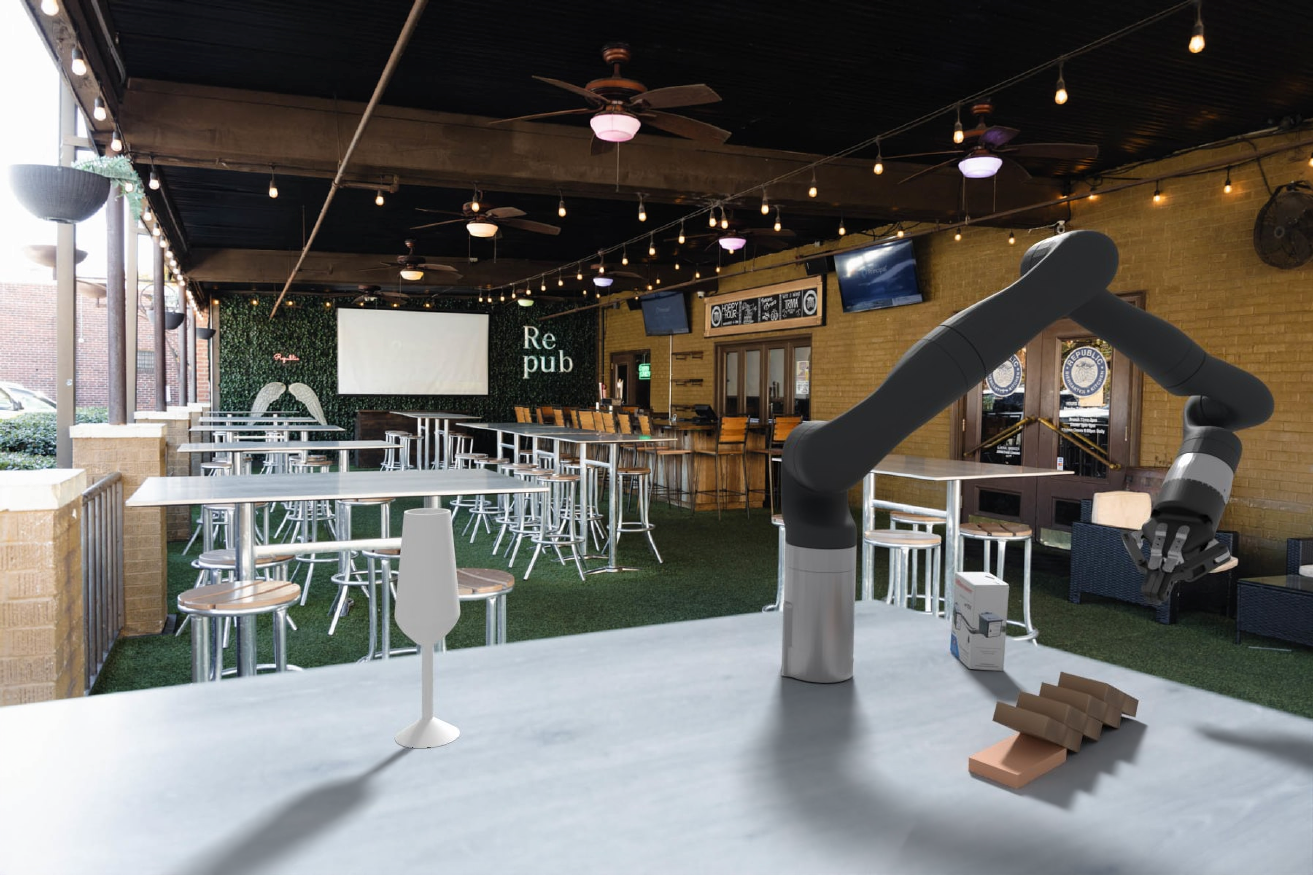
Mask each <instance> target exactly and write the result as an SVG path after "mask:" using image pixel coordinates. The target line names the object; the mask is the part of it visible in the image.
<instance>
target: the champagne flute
mask: <svg viewBox="0 0 1313 875" xmlns="http://www.w3.org/2000/svg"><path fill="white" fill-rule="evenodd" d="M453 529H454V528H453V522H452V511H451V509H447V508H441V507H440V508H438V507H429V508H428V507H426V508H425V507H424V508H423V507H422V508H412V509H407V510H404V512H403V522H402V532H401V543H400V553H399V563H398V573H397V583H396V584H397V585H396V596H395V605H394V606H395V607H394V620H395V623H396V625H397V626H398V627H399V629H400V630H401V631H402V633H404V634H405V635H406V637H408V638H409V639H410V640H412V641H413V642H414V643H415V644H417V645H419V646H421V717H420V718H419V719H418V720H415V721H414V722H413V723H412V724H410V725H408V726H407V727H405V728H403V729H402V730H400V731H399V732H398V733H396V735H395V737H394V739H395V742H396V743H397V744H399V745H400V746H403V747H406V748H410V749H411V748H412V747H413V748H412V749H428V748H427V747H431V748H437V747H442V746H444V745H447V744H449V743H451V742H454V741H455V740H457V739H458V738H459V736H460V733H461V732H460V729H459V728H458V727H456V726H454V725H452V724H450V723H448V722H446V721H444V720H441V719H439V718H437V717H435V716H434V646H435V645H437V644H438V643H440V642H441V641H442V640H443V639H444V638H445V637H446V636H447V635H448V634H449V633H450V632H451V631H452V630H453V629H454V627H455V625H456V624H457V622H458V620H459V619H460V617H461V605H460V596H459V594H460V593H459V585H458V574H457V563H456V553H455V552H456V551H455V543H454V533H453V532H454V531H453Z"/></svg>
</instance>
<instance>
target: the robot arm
mask: <svg viewBox="0 0 1313 875" xmlns="http://www.w3.org/2000/svg"><path fill="white" fill-rule="evenodd" d="M1119 266H1120V253H1119V249H1118V246H1117V244H1116V243H1115V241H1113V238H1111V237H1110V236H1109V235H1107V234H1105V233H1103V232H1101V231H1098V230H1093V229H1077V230H1071V231H1068V232H1064V233H1062V234H1061V233H1060V234H1057V235H1054V236H1051V237H1048V238H1046V239H1045V238H1044V239H1043V240H1041V241H1039V242H1037V243H1035V244H1033V245H1032V246H1030V247H1029V248H1028V250H1027V251H1025V253H1024V254H1023V257H1022V258H1021V261H1020V265H1019V277H1020V278H1019V279H1018V280H1017V281H1015V282H1013V283H1012V284H1011V285H1009V286H1007V287H1006V288H1004V289H1002V290H1000V291H998V292H996V293H994V294H992V295H990V296H988V297H986V298H984V299H982V300H980V301H978V302H977V303H974V304H972V305H971V306H969V307H967V308H965V309H963V310H961V311H959V312H958V313H955V314H954V315H953V316H951V317H949V318H947V319H946V320H945V321H943V322H942V323H940V324H938V325H937V326H936V327H935V328H934V329H932V330H931V331H929V332H928V333H927V334H926V335H924V336H923V337H922V338H920V339H919V340H918V341H917V342H915V343H914V344H913V345H912V346H910V347H909V348H908V350H907V351H906V352H905V353H903V355H902V356H901V357H900V358H899V359H898V361H897V362H896V363H895V365H894V366H893V367H892V369H891V370H890V371H889V373H888V374H887V376H886V377H885V378H884V380H883V381H882V382H881V384H880V385H879V386H878V387H877V388H876V389H875V390H874V391H873V392H871V393H870V394H869V395H868V396H866V397H865V398H864V399H863V400H861V401H859V402H858V403H857V404H855V405H853V406H852V407H851V408H849V409H848V410H846V411H845V412H843V413H842V414H840V415H838V416H836V417H834V418H832V419H831V420H829V421H827V420H810V421H809V420H808V421H805V422H802V423H800V424H798V425H797V426H795V427H794V428H793V429H792V430H791V431H790V432H789V434H788V435H787V437H786V439H785V440H784V444H783V446H782V451H781V462H780V497H781V498H780V501H781V502H780V503H781V504H780V506H781V507H780V508H781V518H782V521H783V525H784V532H785V533H784V534H785V536H784V537H785V538H784V539H785V540H784V541H785V543H784V544H785V545H784V546H785V548H784V578H783V579H784V581H783V582H784V583H783V584H784V586H783V605H782V633H781V634H782V635H781V636H782V638H781V639H782V640H781V641H782V643H781V676H783V677H788V678H789V677H790V678H793V679H797V680H801V681H805V682H810V683H811V682H812V683H827V684H828V683H838V682H839V683H840V682H843V681H847V680H849V679H851V678H852V677H853V675H854V661H855V657H854V646H855V619H856V618H855V615H856V614H855V612H856V611H855V608H856V580H857V579H856V576H857V542H858V540H857V538H858V530H857V529H858V528H857V524H856V522H855V520H854V519H853V517H852V516H853V515H852V514H851V511H850V506H849V503H848V502H849V499H848V495H849V494H848V490H850V489H852V488H853V487H855V486H857V485H858V484H859V483H860V482H861V481H862V480H863V479H864V478H865V477H867V475H868V474H870V473H871V472H872V471H873V469H875V467H877V466H878V465H879V464H880V463H881V462H882V461H883V460H884V459H885V458H886V457H887V456H888V455H889V454H890V453H891V452H893V450H894V449H896V447H897V446H898V445H899V444H901V443H902V442H903V441H904V440H905V439H907V437H909V436H910V435H912V433H914V432H915V431H917V430H918V429H920V428H921V427H922V426H924V425H926V424H927V423H928V422H930V421H932V420H933V419H934V418H935V417H936V416H938V415H939V414H941V413H942V412H943V411H944V410H946V409H947V408H948V407H949V406H951V405H952V404H954V403H955V402H956V401H958V400H959V399H961V398H962V397H963V396H965V395H967V393H969V392H970V391H971V390H973V389H974V388H975V387H976V386H978V385H980V383H982V382H983V381H984V380H986V379H987V378H988V377H989V376H990V375H992V373H993V372H995V371H996V370H997V369H998V368H1000V367H1001V366H1002V365H1003V364H1004V363H1006V362H1007V361H1009V360H1010V358H1012V357H1014V355H1016V354H1017V353H1018V352H1020V351H1021V350H1022V349H1023V348H1025V346H1026V345H1027V344H1029V343H1030V342H1031V341H1032V340H1034V339H1035V337H1038V335H1039V334H1041V333H1042V332H1043V331H1044V330H1046V329H1047V328H1048V327H1050V326H1051V325H1053V324H1054V323H1056V322H1057V321H1059V320H1060V319H1062V318H1064V317H1066V318H1068V319H1069V320H1071V321H1072V322H1073V323H1075V324H1077V325H1078V326H1080V327H1082V328H1083V329H1085V330H1086V331H1088V332H1090V333H1091V334H1093V335H1094V336H1096V337H1097V338H1099V339H1100V340H1102V341H1104V342H1105V343H1106V344H1107V345H1109V346H1111V347H1112V348H1113V349H1115V350H1116V351H1117V352H1119V353H1120V354H1121V355H1123V356H1124V357H1125V358H1127V359H1128V360H1129V361H1131V362H1132V363H1133V364H1134V365H1135V366H1136V367H1138V368H1139V369H1140V371H1142V372H1144V374H1145V375H1147V376H1148V377H1150V379H1152V380H1153V381H1154V382H1156V384H1158V385H1159V386H1160V387H1161V388H1162V389H1164V390H1165V391H1166V392H1168V394H1171V395H1173V396H1176V397H1189V398H1188V399H1187V400H1186V402H1185V403H1184V405H1183V408H1182V409H1183V410H1182V443H1181V445H1180V447H1179V450H1178V451H1177V455H1176V457H1175V459H1174V461H1173V463H1172V464H1171V466H1170V468H1169V470H1168V471H1167V473H1166V475H1165V478H1164V480H1163V483H1162V485H1161V487H1160V490H1159V492H1158V494H1157V498H1156V499H1155V502H1154V503H1153V507H1152V509H1151V511H1150V517H1149V518H1148V520H1146V521H1145V522H1143V523H1142V525H1141V528H1139V529H1138V530H1135V531H1132V532H1130V530H1128V529H1124V530H1122V531H1121V532H1120V533H1119V534H1120V537H1121V540H1122V541H1123V544H1124V547H1125V549H1126V551H1127V552H1128V554H1129V556H1130V558H1131V559H1132V561H1133V562H1134V564H1135V567H1136V569H1137V570H1138V571H1139V573H1140V574H1141V575H1145V577H1144V579H1143V582H1142V584H1141V587H1140V591H1141V595H1142V596H1143V598H1144V599H1145V602H1146V603H1147V604H1151V605H1156V606H1161V605H1162V603H1163V602H1164V603H1165V602H1167V601H1168V600H1169V598H1170V595H1171V592H1172V590H1173V588H1174V585H1175V584H1176V583H1177V582H1178V581H1185V582H1187V583H1191V582H1194V581H1196V580H1198V579H1199V578H1201V577H1203V576H1206V574H1209V573H1210V572H1212V571H1215V569H1218V568H1219V567H1221V566H1223V565H1224V564H1227V563H1228V562H1230V561H1231V559H1232V558H1231V554H1230V550H1229V547H1228V546H1227V543H1225V542H1222V541H1221V542H1219V541H1218V538H1217V535H1216V531H1217V529H1218V527H1219V524H1220V521H1221V519H1222V516H1223V513H1224V511H1225V508H1226V505H1227V504H1228V502H1229V500H1230V494H1231V491H1232V487H1233V481H1234V477H1235V474H1236V471H1237V469H1238V467H1239V466H1238V465H1239V464H1240V462H1241V458H1242V455H1243V454H1242V453H1243V443H1242V441H1241V439H1240V438H1239V437H1238V436H1237V434H1235V433H1236V432H1239V431H1243V430H1246V429H1247V430H1248V429H1250V428H1254V427H1257V426H1259V425H1262V424H1264V423H1266V422H1267V421H1269V419H1271V417H1272V415H1273V414H1274V411H1275V400H1274V396H1273V394H1272V392H1271V390H1270V389H1269V387H1268V386H1267V385H1266V384H1265V382H1263V381H1262V380H1261V379H1260V378H1259V377H1257V376H1255V375H1254V374H1252V373H1250V372H1248V371H1246V370H1244V369H1242V368H1240V367H1238V366H1236V365H1233V364H1231V363H1229V362H1227V361H1225V360H1223V359H1220V358H1218V357H1215V356H1213V355H1212V354H1209V353H1208V352H1207V351H1206V350H1204V349H1203V347H1201V346H1200V345H1199V344H1198V343H1197V342H1196V341H1194V340H1193V339H1192V338H1191V337H1190V336H1188V334H1186V333H1185V332H1184V331H1182V330H1180V329H1179V328H1178V327H1176V325H1174V324H1172V323H1171V322H1169V321H1167V320H1165V319H1163V318H1160V317H1159V316H1157V315H1154V314H1152V313H1150V312H1149V311H1146V310H1144V309H1142V308H1140V307H1138V306H1135V305H1133V304H1131V303H1130V302H1128V301H1126V300H1124V299H1122V298H1121V297H1119V296H1118V295H1116V294H1114V293H1113V292H1111V291H1110V290H1108V289H1107V288H1108V287H1109V285H1111V284H1112V282H1113V280H1114V279H1115V276H1116V275H1117V272H1118V269H1119ZM1144 540H1145V541H1146V543H1147V544H1148V547H1149V548H1150V557H1149V559H1146V557H1145V556H1144V555H1145V554H1143V552H1142V550H1141V549H1142V547H1143V545H1144V544H1143V541H1144Z"/></svg>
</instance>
